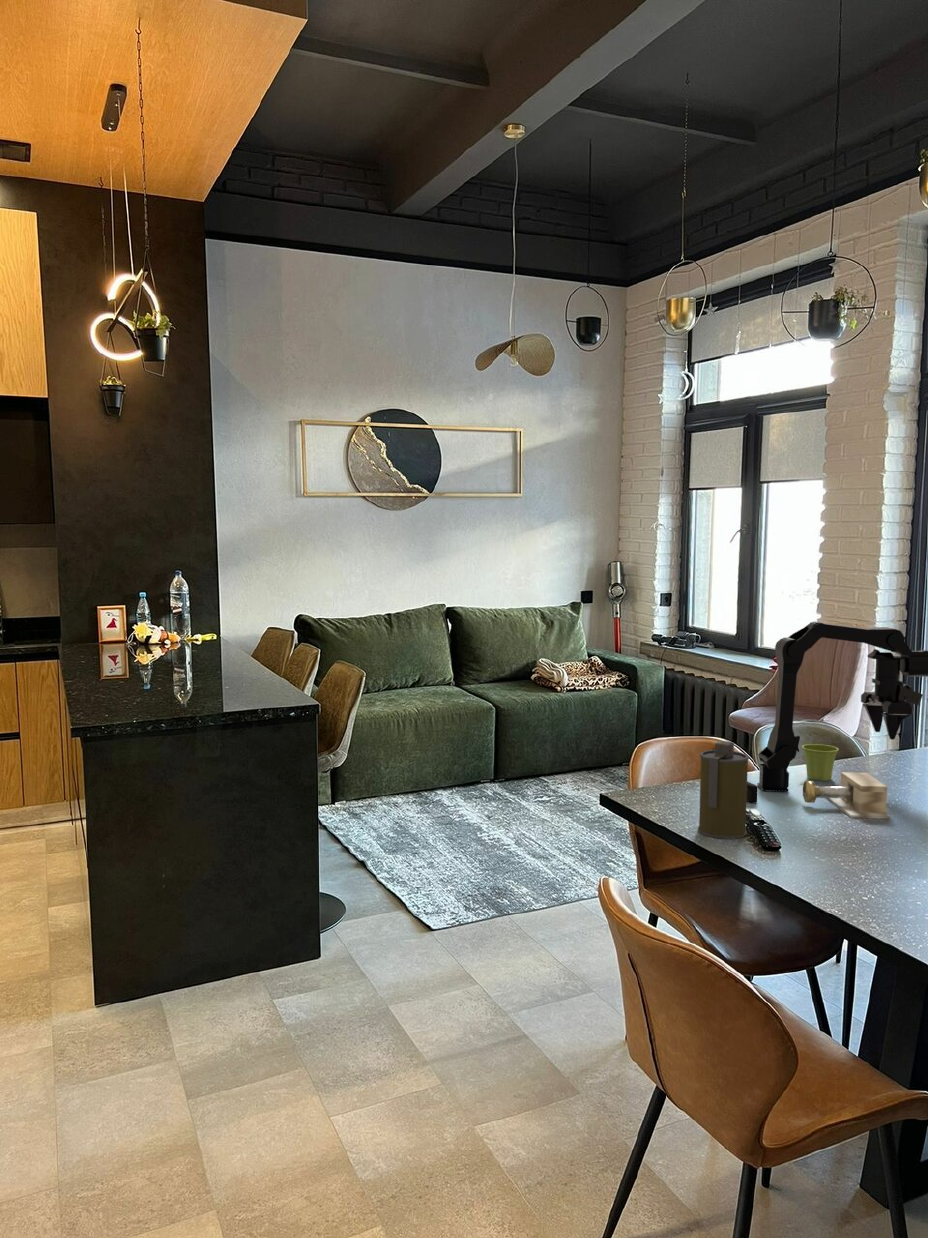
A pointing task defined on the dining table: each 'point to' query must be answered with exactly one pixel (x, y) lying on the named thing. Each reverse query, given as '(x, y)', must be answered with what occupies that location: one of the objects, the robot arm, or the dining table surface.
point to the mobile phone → (751, 792)
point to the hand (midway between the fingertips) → (884, 735)
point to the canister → (723, 792)
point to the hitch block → (863, 796)
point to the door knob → (825, 792)
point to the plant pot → (819, 761)
